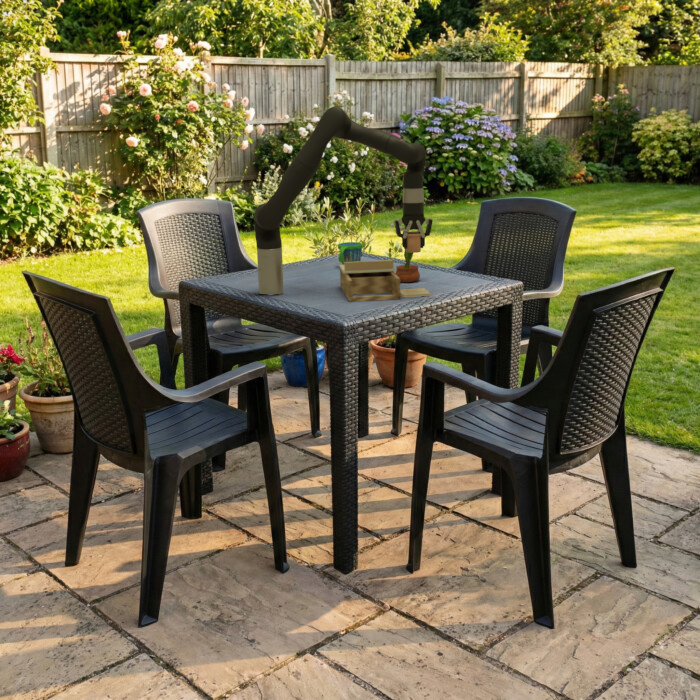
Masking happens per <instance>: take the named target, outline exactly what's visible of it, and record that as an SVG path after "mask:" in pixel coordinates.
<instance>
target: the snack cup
mask: <svg viewBox="0 0 700 700" xmlns="http://www.w3.org/2000/svg"><path fill="white" fill-rule="evenodd" d="M337 247H338V250H339V254H338V261H339V262H340V263H341V265H344V262H356V261H361V259H362V258H363V247H364V243H362V242H355V241H347V242H342V243H341V242H340V243H338V244H337Z"/></svg>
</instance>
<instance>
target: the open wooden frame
mask: <svg viewBox="0 0 700 700" xmlns="http://www.w3.org/2000/svg"><path fill="white" fill-rule="evenodd" d="M339 269H340V268H339ZM339 273H340V274H339V275H340V276H339V278H340V279H339V280H340V288H341V290H342V292H343V294H344V295H345V296H346V298H347V300H348V302H349V303H352V302H354V303H355V301H356V302H370V301H371V302H373V301H393V300H394V301H395V300H396V301H397V300H401V295H400V289H401V282H400V278H399V277H398V276H397V275H396V274H395V273H396V272H395V271H391V272H368V273H346V274H343V272H342V271H341V269H340V270H339ZM365 294H366V295H365ZM370 294H371V295H370ZM372 294H373V295H372ZM374 294H381V295H374ZM382 294H383V295H382ZM353 295H361V296H353Z"/></svg>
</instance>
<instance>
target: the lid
mask: <svg viewBox="0 0 700 700" xmlns="http://www.w3.org/2000/svg"><path fill="white" fill-rule="evenodd" d="M338 266H339V269H341V271H342V272H343V274H346V273H368V272H391V271H393V272H396V267H394V260H393V259H386V260H385V259H382V260H362V261H361V260H360V261H356V262H344V265H342V264H339V265H338Z"/></svg>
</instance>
